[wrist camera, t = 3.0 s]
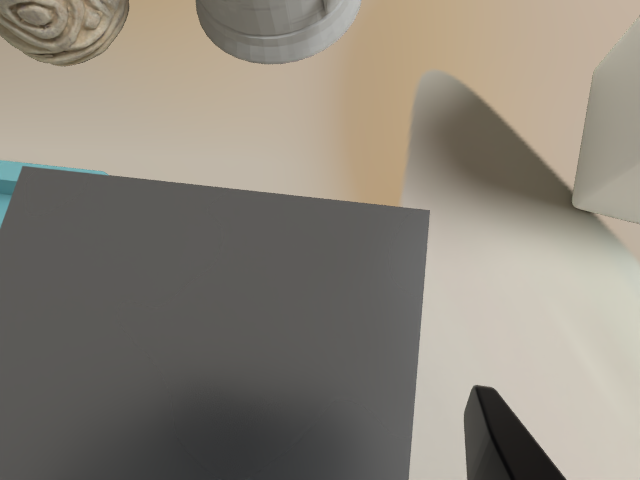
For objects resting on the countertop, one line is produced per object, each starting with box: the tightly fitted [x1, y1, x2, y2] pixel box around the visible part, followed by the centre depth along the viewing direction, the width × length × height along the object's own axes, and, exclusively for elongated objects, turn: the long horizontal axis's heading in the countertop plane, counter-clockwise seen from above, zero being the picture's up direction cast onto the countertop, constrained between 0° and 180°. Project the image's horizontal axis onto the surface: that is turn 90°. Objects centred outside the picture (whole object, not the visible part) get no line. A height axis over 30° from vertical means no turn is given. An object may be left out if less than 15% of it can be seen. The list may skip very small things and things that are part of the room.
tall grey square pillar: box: [0, 166, 430, 480], centre depth 11 cm, size 5×5×13 cm
